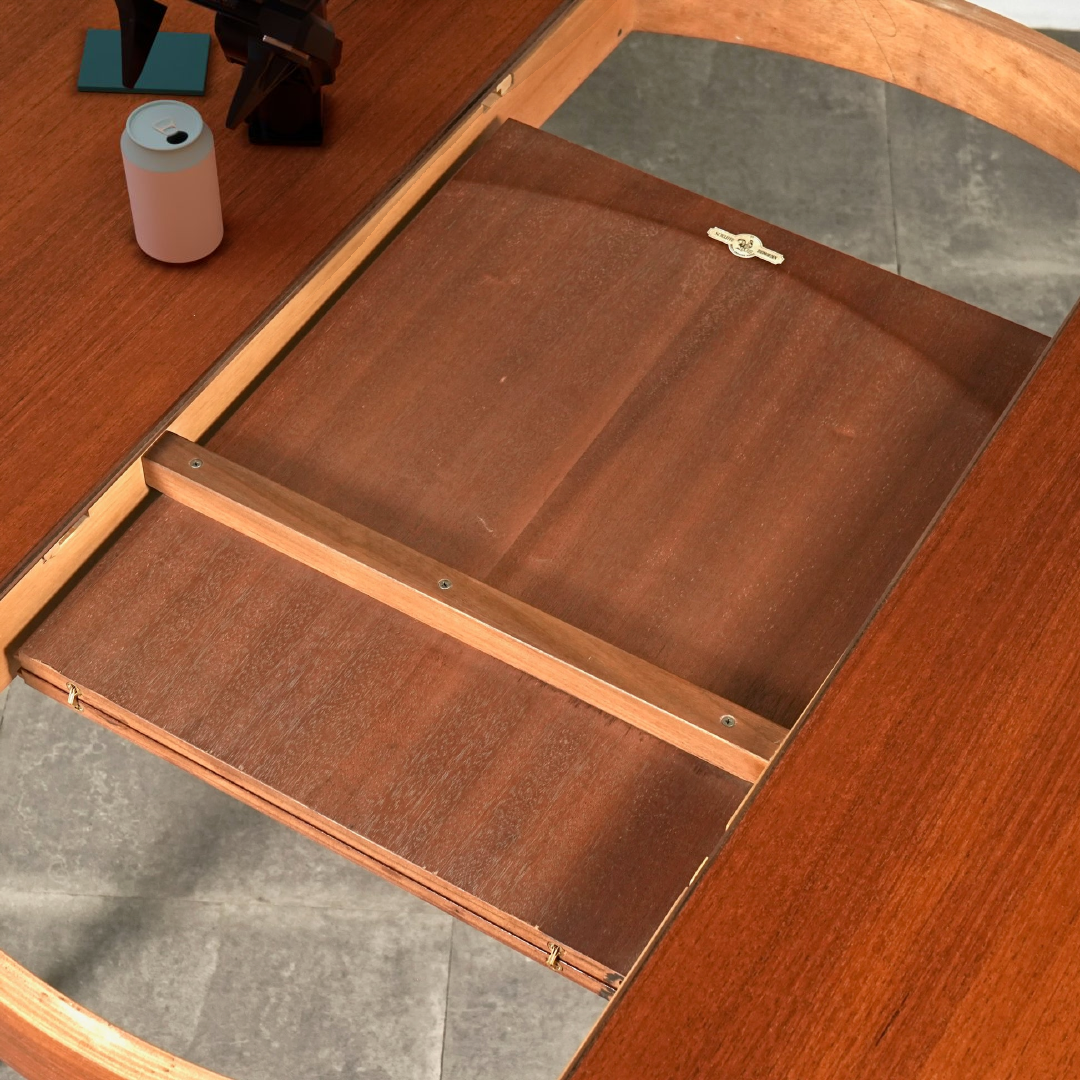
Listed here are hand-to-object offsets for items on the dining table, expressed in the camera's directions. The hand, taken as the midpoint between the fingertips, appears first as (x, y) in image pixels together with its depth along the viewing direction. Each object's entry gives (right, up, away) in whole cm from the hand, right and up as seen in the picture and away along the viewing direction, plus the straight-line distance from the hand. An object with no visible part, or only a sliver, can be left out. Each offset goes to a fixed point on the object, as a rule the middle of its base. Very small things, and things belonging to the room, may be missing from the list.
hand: (178, 108), depth 122 cm
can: (-2, -8, +9) cm, 13 cm away
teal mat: (-8, +10, +21) cm, 25 cm away
